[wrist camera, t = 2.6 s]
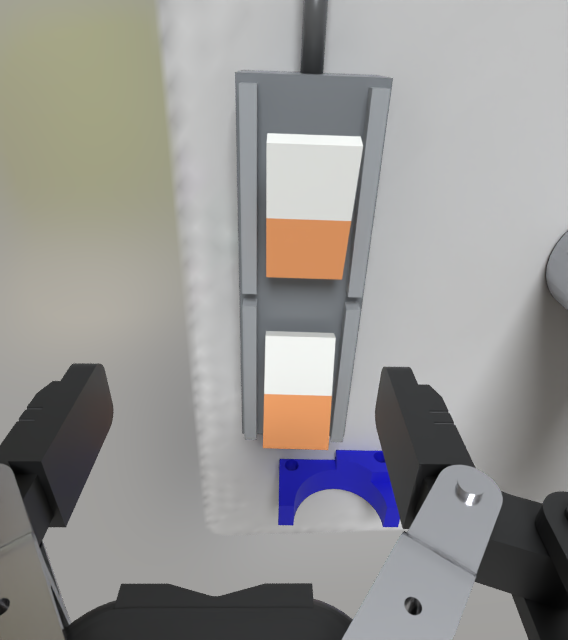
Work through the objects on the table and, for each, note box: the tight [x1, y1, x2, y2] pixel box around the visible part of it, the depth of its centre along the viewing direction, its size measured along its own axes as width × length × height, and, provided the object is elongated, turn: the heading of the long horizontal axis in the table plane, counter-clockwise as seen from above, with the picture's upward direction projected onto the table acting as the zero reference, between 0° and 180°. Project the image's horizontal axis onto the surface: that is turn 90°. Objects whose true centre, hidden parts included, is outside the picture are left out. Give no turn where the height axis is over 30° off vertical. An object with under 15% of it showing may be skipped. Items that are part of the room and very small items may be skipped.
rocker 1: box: [266, 133, 363, 280], centre depth 27 cm, size 9×5×1 cm, turn 178°
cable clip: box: [278, 450, 400, 527], centre depth 46 cm, size 12×4×6 cm, turn 89°
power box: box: [235, 0, 393, 442], centre depth 33 cm, size 34×9×6 cm, turn 178°
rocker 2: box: [263, 331, 336, 450], centre depth 34 cm, size 9×5×1 cm, turn 178°
